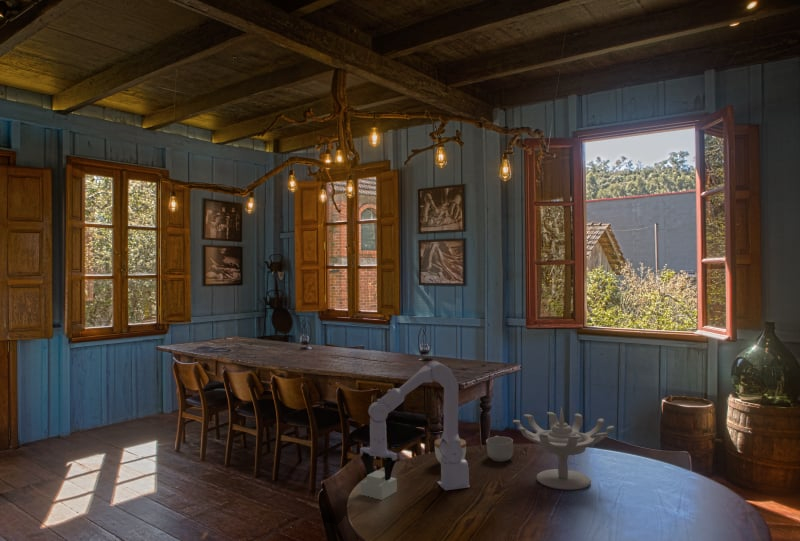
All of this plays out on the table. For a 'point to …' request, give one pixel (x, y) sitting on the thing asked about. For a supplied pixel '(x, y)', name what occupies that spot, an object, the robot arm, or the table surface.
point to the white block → (378, 485)
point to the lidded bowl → (439, 454)
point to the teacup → (500, 448)
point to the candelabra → (563, 448)
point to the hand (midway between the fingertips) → (378, 477)
